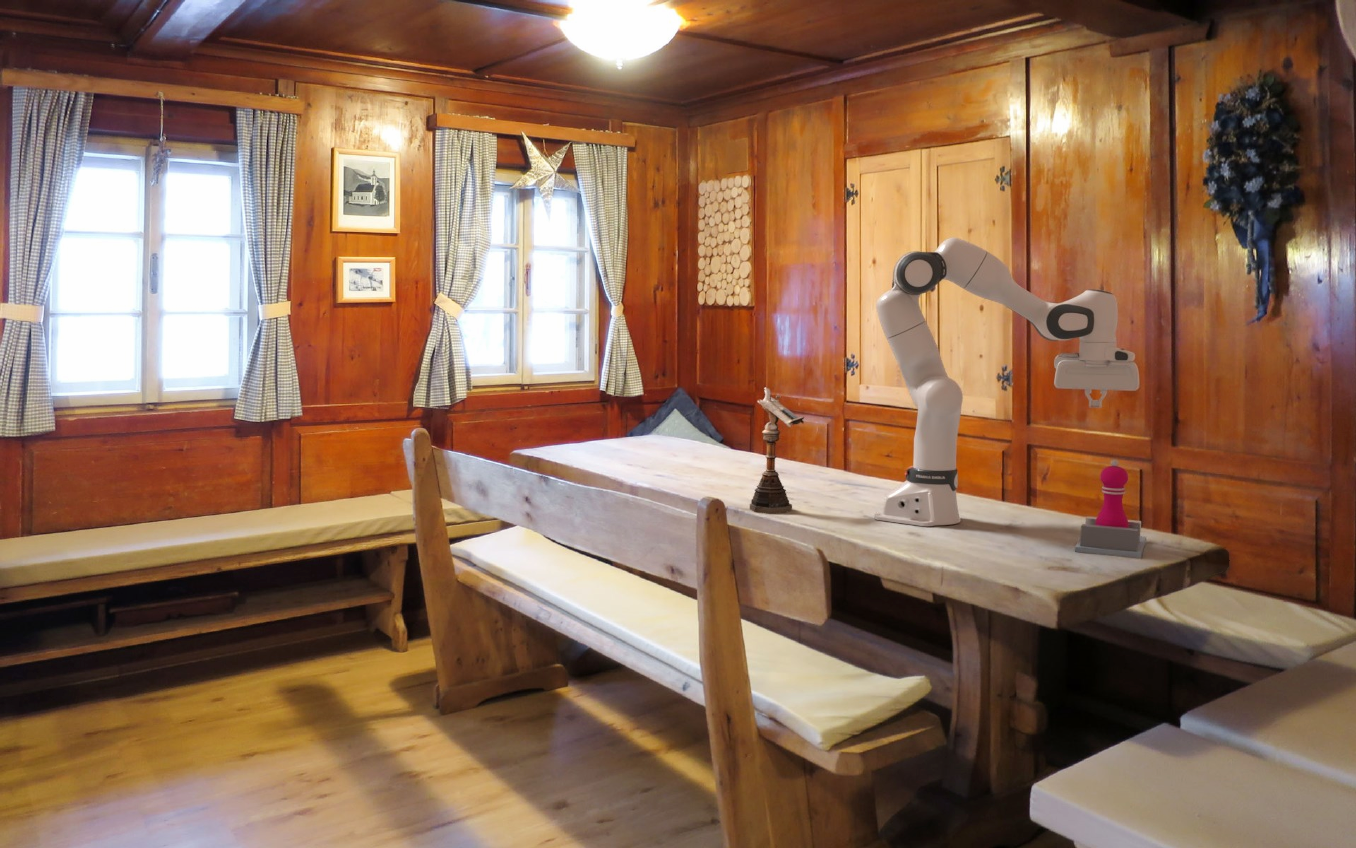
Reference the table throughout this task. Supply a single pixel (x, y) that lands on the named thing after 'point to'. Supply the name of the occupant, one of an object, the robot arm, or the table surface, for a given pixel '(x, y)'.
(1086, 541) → the vise
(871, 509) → the table surface
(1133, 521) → the sliding jaw
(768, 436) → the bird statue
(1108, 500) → the pepper mill
